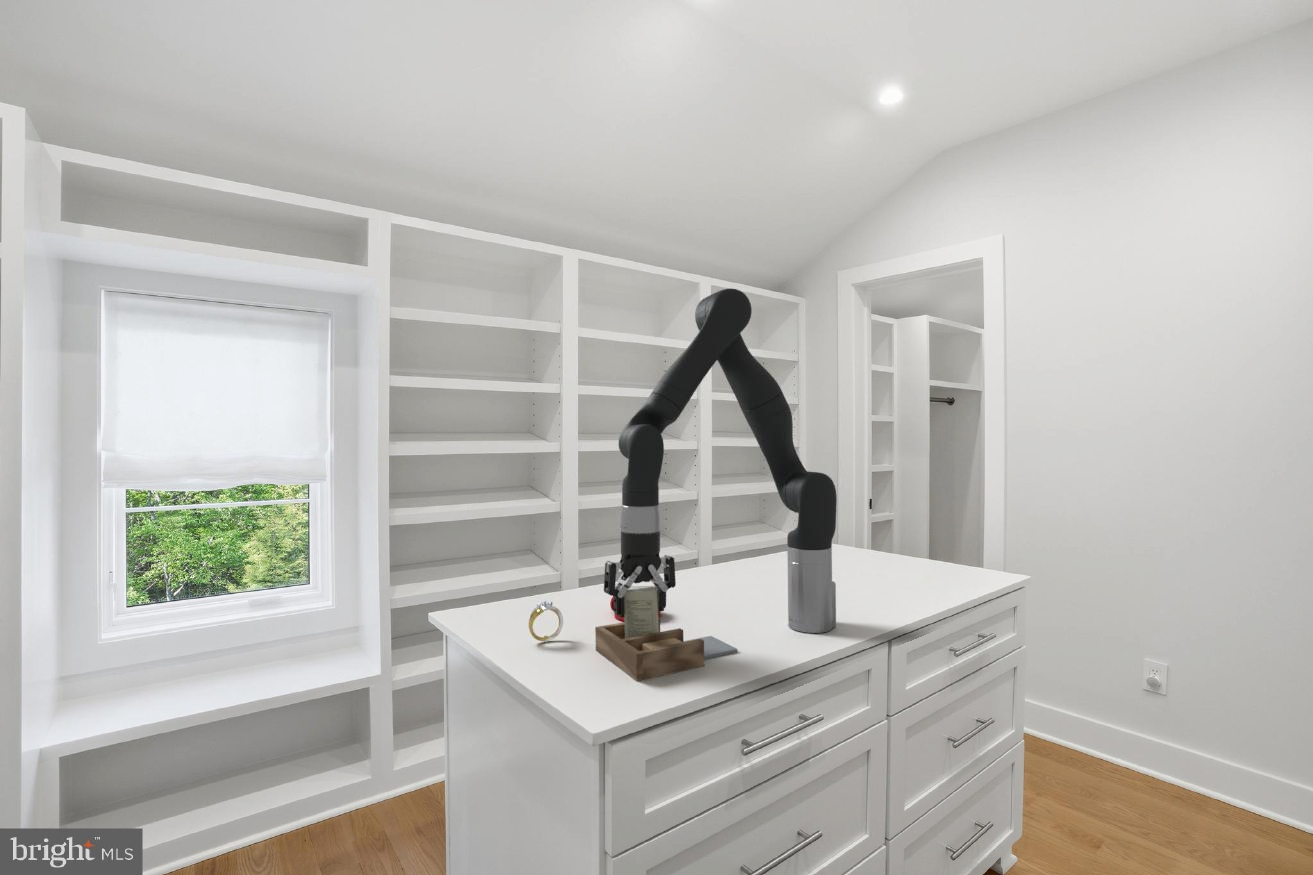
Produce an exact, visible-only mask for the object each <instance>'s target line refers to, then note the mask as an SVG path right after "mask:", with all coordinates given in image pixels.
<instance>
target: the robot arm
mask: <svg viewBox="0 0 1313 875" xmlns="http://www.w3.org/2000/svg"><path fill="white" fill-rule="evenodd" d="M752 310H753V309H752V304H751V301H750V299H749V297H748V296H747V295H746V294H745V292H743V291H742V290H740V289H737V288H725V289H721V290H718V291H715V292H714V293H711V294H710V295H708V296H705V298H702V300H700V301H699V302H698V304H697V306H696V307H695V312H694V318H695V319H694V320H695V323H696V327H697V329H698V333H697V335H696V336H695V338H693V340H692V341H691V343H690V344H689V345H688V346H687V347H686V348H685V350H684V351H683V352H682V353H681V354H680V356H678V357H677V358H676V359H675V361H674V362H672V363H671V365H670V366H669V367H668V368H667V370H666V371H665V372H664V373H663V375H662V376H661V378H660V380H659V381H658V382H657V383H656V385H655V386H654V388H653V390H652V392H651V393H650V395H649V396H648V397H647V400H646V401H645V403H644V404H643V405H642V406H641V407H640V408H639V409H638V411H637V412H636V413H635V414H634V415H633V416H632V417H631V418H630V420H629V421H628V422H627V424H625V426H624V428H622V431H621V432H620V435H619V439H618V449H619V452H620V453H621V455H622V456H623V457H624V458H626V459H627V460H628V464H627V474H626V475H625V477H623V479H622V488H621V491H622V493H621V497H622V500H621V513H620V526H619V527H620V555H621V556H620V560H619V561H618V562H617V561H616V562H612V561H610V560H607V561H606V562H605V563H604V581H603V582H604V583H603V592H604V593H605V594H607V595H609V596H610V597H611V596H612V597H613V598H614V611H613V613H614V614H616V615H617V616H618V617H620V618H621V617H624V597H623V596H624V594H625V593H626V591H627V589H628V588H630V587H631V586H633V584H640V583H649V582H651V583H652V584H653V586H657V597H658V611H660V612H661V613H662V612H664V611H665V609H666V607H667V591H668V590H669V589H672V588H673V589H674V588H675V587H676V584H677V582H676V569H675V568H676V566H675V564H676V563H675V558H674V557H673V556H671V555H666V554H665V555H664V556H662V557H660V551H661V515H660V505H659V504H660V501H659V498H660V497H659V494H660V490H659V488H660V487H659V482H660V481H659V480H660V477H661V471H662V467H663V466H662V465H663V460H664V454H665V452H664V451H665V448H664V446H665V445H664V439H663V436H662V434H663V432H664V431H665V429H666V428H667V427H668V426H670V425H672V424H673V423H675V422H676V421H677V420H678V418H679V417H680V415H681V414H682V412H684V409H685V407H686V406H687V405H688V403H689V402H690V400H691V399H692V396H693V395H694V394H695V392H696V390H697V389H698V388H699V386H700V385H701V383H702V381H703V380H704V379H705V377H706V375H707V374H708V373H709V371H710V370H711V369H712V367H714V365H715V363H716V362H717V363H718V364H719V366H720V368H721V369H722V372H723V374H724V376H725V378H726V380H727V382H728V384H729V386H730V388H731V390H732V393H733V394H734V396H735V399H736V401H737V403H738V405H739V408H740V409H741V412H742V414H743V416H744V418H745V420H746V423H747V424H748V427H749V428H750V430H751V431H752V434H753V436H754V437H755V440H756V442H757V444H758V446H759V448H760V450H761V452H762V454H763V456H764V458H765V460H766V462H767V465H768V468H769V470H770V473H771V476H772V478H773V481H774V484H775V487H776V491H777V493H778V495H779V498H780V501H781V502H782V503H783V505H784V506H785V507H786V508H787V509H788V510H790V511H791V512H793V513H797V514H798V519H797V526H796V528H795V529H794V530H793V529H792V530H791V531H789V532H788V533H787V545H786V546H787V552H786V553H787V615H788V616H787V618H788V622H787V623H788V624H787V626H788V627H789V628H790V629H792V630H795V631H797V632H802V633H810V634H821V633H826V632H830V631H832V630H833V628H836V627H837V596H836V595H837V594H836V593H837V592H836V591H837V590H836V588H837V587H836V585H837V584H836V582H835V581H833V546H832V544H833V542H832V541H833V538H834V536H835V532H836V525H837V503H838V502H837V501H838V499H837V490H836V489H837V488H836V486H835V483H834V481H833V480H832V478H831V477H830V476H829V475H828V474H826V473H822V472H816V471H809V470H808V471H807V470H806V468H805V467H804V465H803V463H802V461H801V459H800V457H799V455H798V453H797V451H796V449H795V445H794V436H793V433H794V432H793V431H794V430H793V429H794V428H793V427H794V426H793V422H794V421H793V414H792V411H791V408H790V405H789V403H788V401H787V399H786V397H785V394H784V393H783V390H782V388H781V387H780V385H779V383H778V382H777V380H776V379H775V378H774V377H773V376H772V374H771V373H770V372H769V371H768V370H767V369H766V368H765V367H764V366H763V365H762V364H761V363H760V362H759V361H758V360H757V359H756V358H755V356H754V355H753V354H752V353H751V351H750V350H749V348H748V347H747V345H746V343H745V341H744V338H743V336H742V334H741V333H742V332H743V331H744V330H745V328H746V327H747V326H748V324H749V323H750V320H751V317H752ZM660 567H662V568H663V577H662V576H661V574H660V573H659V572H658V570H659V569H660ZM619 570H621V572H622V574H621V575H620V576H619V578H618V580H617V579H616V578H617V574H619ZM616 580H617V581H616Z"/></svg>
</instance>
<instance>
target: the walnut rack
mask: <svg viewBox="0 0 1313 875" xmlns="http://www.w3.org/2000/svg"><path fill="white" fill-rule="evenodd" d="M658 623H659V632H658V633H652V634H647V635H642V636H636V637H631V638H626V639H625V624H624V621H621V622H618V623H617V622H616V623H612V624H611V623H610V624H607V625H599V626H595V651H596V652H597V653H599V654H600V655H601V656H603V657H604V658H605V659H607V660H608V661H609V662H610V663H612V664H613V665H615V667H617V668H618V669H620V670H621V671H622V672H623V673H625V674H626V675H628V676H629V677H630V678H631V679H633V680H635V681H636V682H641V681H643V680H648V679H652V678H656V677H661V676H664V675H669V674H674V673H679V672H683V671H688V670H691V669H695V668H701V667H705V659H704V640H702V639H697V638H696V639H697V640H692V639H691V640H692V641H687V640H686V641H687V642H683V641H684V629H682V628H675V629H670V630H663V631H661V617H658ZM670 638H676V639H678V640H680V641H681V642H682V643H677V644H672V645H667V646H662V647H657V648H652V649H647V650H642V644H644V643H649V642H654V641H660V640H665V639H670Z"/></svg>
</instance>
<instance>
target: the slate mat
mask: <svg viewBox="0 0 1313 875" xmlns="http://www.w3.org/2000/svg"><path fill="white" fill-rule="evenodd" d="M697 639H702V640H704V660H708V659H712V658H716V657H721V656H725V655H726V656H727V655H730V654H735V653H738V648H737V647H734V646H733V645H730V644H728V643H726V642H725V641H722V640H721V639H718V638H716V637H714V636H712V635H709V636H703V637H698V638H693V639H688V640H683V642H687V641H692V640H697Z"/></svg>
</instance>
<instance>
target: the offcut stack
mask: <svg viewBox="0 0 1313 875" xmlns="http://www.w3.org/2000/svg"><path fill="white" fill-rule="evenodd" d="M677 643H682V642H681V641H680V640H678V639H676V638H670V639H665V640H660V641H654V642H649V643H644V644H642V650H647V649H652V648H657V647H662V646H667V645H672V644H677Z"/></svg>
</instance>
